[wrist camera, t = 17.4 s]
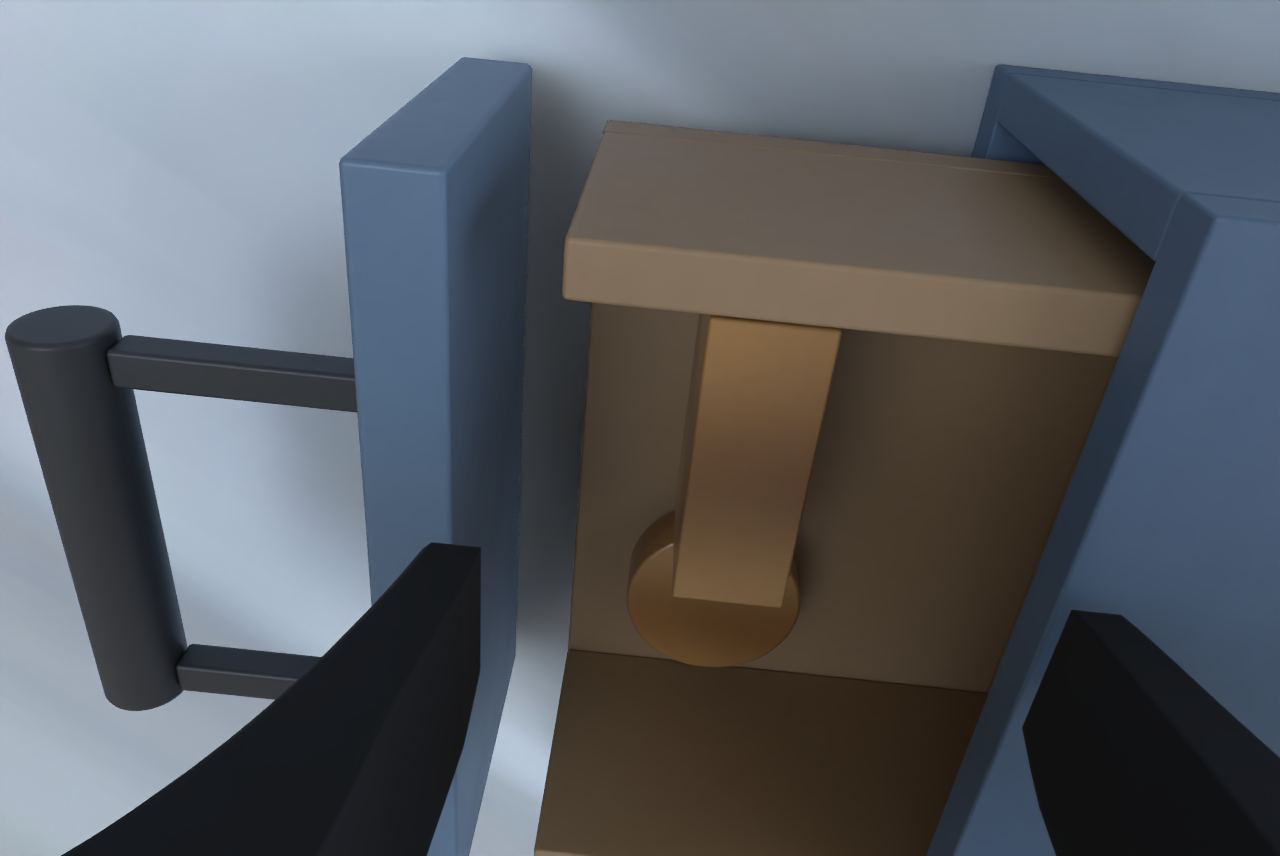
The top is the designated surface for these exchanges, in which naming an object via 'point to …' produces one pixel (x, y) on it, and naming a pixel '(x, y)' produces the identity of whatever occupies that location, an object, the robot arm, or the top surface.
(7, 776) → the top surface
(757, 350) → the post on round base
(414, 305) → the drawer
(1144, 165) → the cabinet
